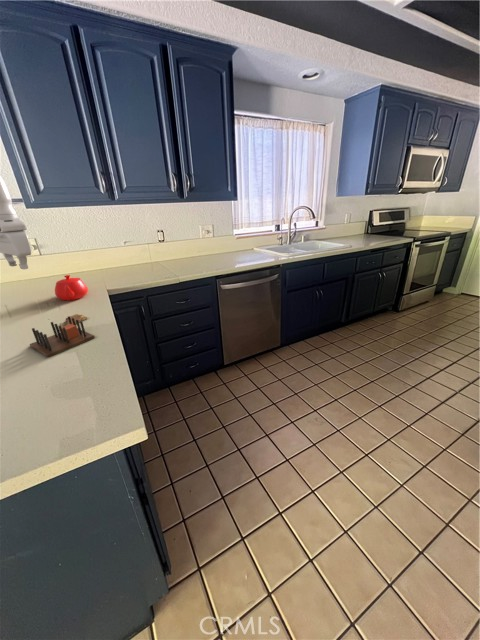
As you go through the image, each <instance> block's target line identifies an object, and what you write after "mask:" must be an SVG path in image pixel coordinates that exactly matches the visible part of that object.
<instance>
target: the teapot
mask: <svg viewBox="0 0 480 640" xmlns="http://www.w3.org/2000/svg"><path fill="white" fill-rule="evenodd" d="M88 292H89V288H88V286H87V284H85V282H84V281H83V280H82V279H81V278H80V277H71V275H70V274H65V275H64V278H63V279H59V280H57V281H56V282H55V286H54V295H55V296H56V298H57V299H59V300H61V301H62V300H63V301H75V300H76V301H77V300H79V299H83V298H84V297H85V296H86V295H87V294H88Z"/></svg>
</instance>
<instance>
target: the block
mask: <svg viewBox="0 0 480 640" xmlns="http://www.w3.org/2000/svg"><path fill="white" fill-rule="evenodd" d="M61 327H62V330H63V327H65V329H66V332H67V335H68V338H69V339H71V338H74V337H76V336H79V332H78V329H77V328H78V327H77V325H76V326H75V325H73V324H69V325H66V326H65V325H64V326H61ZM63 333H64V331H63ZM64 336H65V334H64ZM65 338H66V337H65Z"/></svg>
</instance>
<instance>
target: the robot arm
mask: <svg viewBox="0 0 480 640" xmlns="http://www.w3.org/2000/svg"><path fill="white" fill-rule="evenodd" d="M12 200H13V199H12V196H11V193H10V190H9V188H8V186H7V184H6V182H5V179H4V177H3V176H2V175H1V174H0V254H2V255H3V258H4V259H5V260H6V261H7V263H8V266H10V267H17V266H19V269H21V270H28V269H29V264H28V256H31V255H32V248H31V243H30V241H29V240H30V239H29V237H28V234H27V232H26V231H27V230H28V229H27V226H26V223H25V222H23V221H22V220H21V219H20V218H19V216H18V214H17V211H16V210H15V208H14V206H13V201H12ZM14 256H15V257H16V258H17V260H18V263H17V261H16V260H15V258H14Z"/></svg>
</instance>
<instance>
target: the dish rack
mask: <svg viewBox="0 0 480 640" xmlns="http://www.w3.org/2000/svg"><path fill="white" fill-rule="evenodd" d="M70 316H71V315H68V316H67V318H68V320H69V323H70V324H72V322H73V325H75V326H77V329H78V332H79V336H76V337H74V338H71V339H69V338H68V335H67V332H66V329H65V327H63V326H62V325H58V324H57V323H54V321H51V322H50V325H51V328H52V331H53V335H51V336H48V335H47V333H44V332H42V331H39V330H38V329H36V328H35V327H33V328H31V331H32V333H33V336H34V339H35V341H34V342H31V343H29V346H30V347H31V348H32V349H34V350H35V351H37V352H39V353H40V354H42V355H44V356H45V357H47V358H51V357H52V356H55V355H58V354H60V353H62V352H64V351H67V350H70V349H71V348H74V347H76V346H80V344H83V343H86V342H88V341H91V340H93V339H95V335H94V334H91V333H90V332H87V331H86V329H85V326H84V323H83V321H80V322H79V321H78V320H76V323H77V324H76V323H75V320H74V318H72V322H71V318H70ZM62 327H63V330H62ZM63 331H64V333H63ZM64 334H65V336H64ZM65 337H66V338H65Z"/></svg>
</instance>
